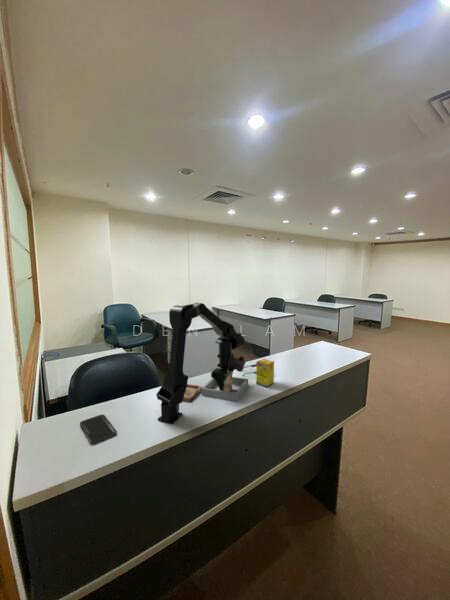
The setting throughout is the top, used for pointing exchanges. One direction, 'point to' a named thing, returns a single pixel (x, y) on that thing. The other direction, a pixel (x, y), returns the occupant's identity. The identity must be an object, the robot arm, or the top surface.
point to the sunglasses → (248, 366)
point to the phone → (97, 429)
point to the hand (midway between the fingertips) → (225, 386)
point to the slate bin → (224, 394)
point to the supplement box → (265, 372)
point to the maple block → (228, 382)
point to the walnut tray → (191, 392)
